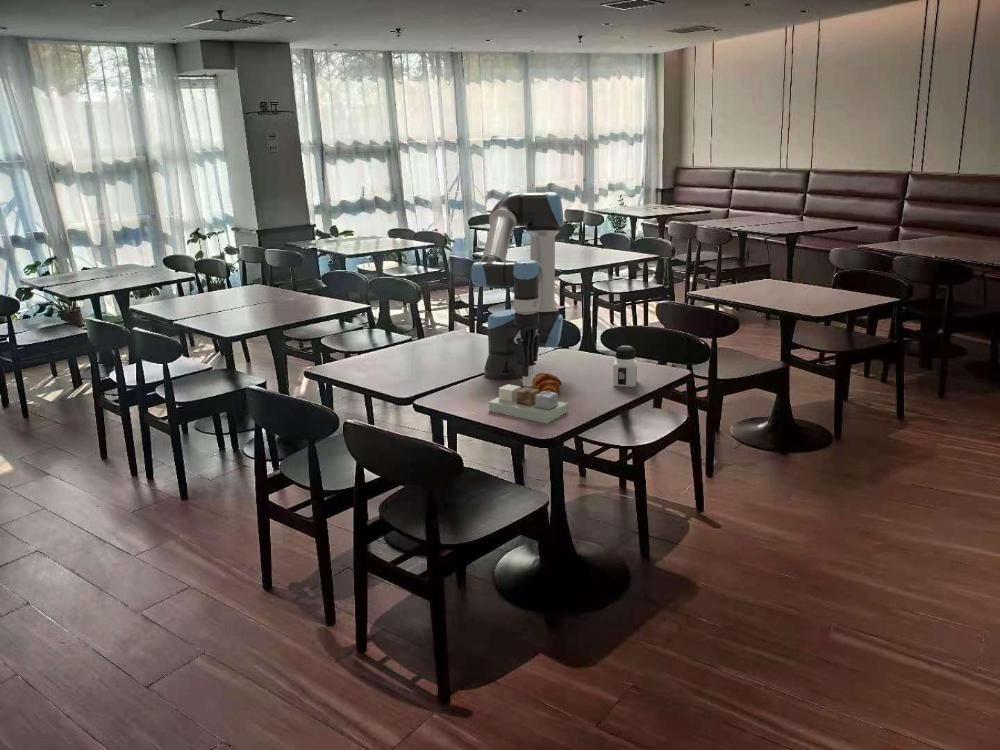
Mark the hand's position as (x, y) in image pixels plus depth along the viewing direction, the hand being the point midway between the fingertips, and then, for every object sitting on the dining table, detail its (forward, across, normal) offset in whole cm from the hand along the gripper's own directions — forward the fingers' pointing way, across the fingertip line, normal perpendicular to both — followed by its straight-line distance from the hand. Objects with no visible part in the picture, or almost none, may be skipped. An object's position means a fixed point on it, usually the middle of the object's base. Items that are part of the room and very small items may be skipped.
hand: (527, 385), depth 253 cm
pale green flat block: (+9, 0, 0) cm, 9 cm away
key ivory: (+7, 0, +7) cm, 10 cm away
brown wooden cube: (+7, 0, 0) cm, 7 cm away
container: (+9, +42, -12) cm, 45 cm away
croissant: (+9, +21, +7) cm, 24 cm away
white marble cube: (+7, 0, -7) cm, 10 cm away
